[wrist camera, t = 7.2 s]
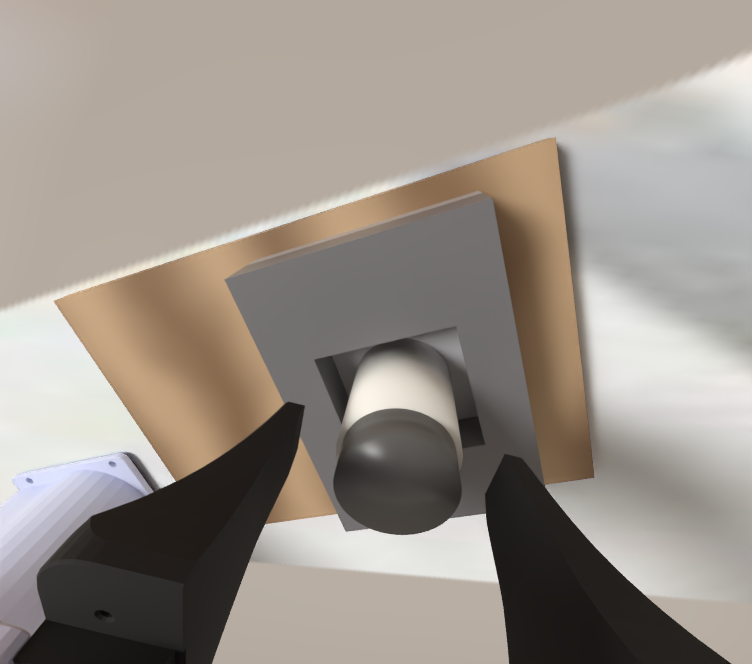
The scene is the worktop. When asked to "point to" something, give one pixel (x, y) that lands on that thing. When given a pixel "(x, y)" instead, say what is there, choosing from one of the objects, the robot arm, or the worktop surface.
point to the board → (247, 369)
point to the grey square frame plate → (397, 330)
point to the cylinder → (400, 441)
